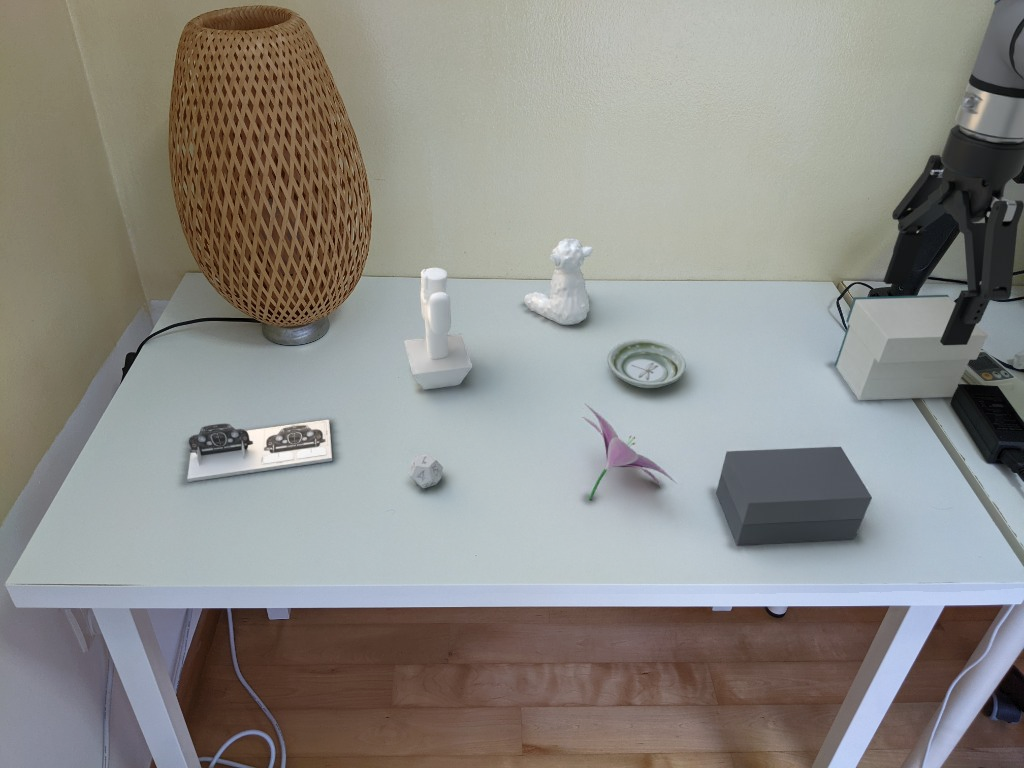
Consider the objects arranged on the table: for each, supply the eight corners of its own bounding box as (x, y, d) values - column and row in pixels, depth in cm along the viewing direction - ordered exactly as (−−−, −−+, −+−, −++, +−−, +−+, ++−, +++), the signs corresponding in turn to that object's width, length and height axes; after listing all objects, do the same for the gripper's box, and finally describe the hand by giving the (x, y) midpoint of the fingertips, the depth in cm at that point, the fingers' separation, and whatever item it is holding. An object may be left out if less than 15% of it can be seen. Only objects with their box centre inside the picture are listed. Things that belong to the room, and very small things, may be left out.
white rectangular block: (923, 362, 101) (940, 321, 97) (952, 397, 95) (972, 354, 92) (834, 365, 100) (848, 323, 96) (858, 400, 95) (874, 358, 91)
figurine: (460, 352, 101) (457, 249, 92) (474, 395, 94) (473, 289, 85) (404, 359, 100) (396, 255, 91) (415, 404, 93) (407, 296, 83)
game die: (446, 471, 84) (445, 451, 82) (437, 495, 81) (436, 475, 79) (415, 466, 84) (413, 446, 82) (405, 490, 81) (403, 470, 79)
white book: (937, 318, 98) (947, 294, 96) (976, 359, 91) (988, 335, 89) (845, 321, 97) (853, 297, 95) (878, 363, 90) (887, 338, 88)
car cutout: (188, 482, 82) (177, 450, 79) (193, 440, 87) (183, 410, 84) (332, 460, 85) (327, 429, 82) (329, 422, 90) (324, 391, 87)
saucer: (616, 347, 103) (618, 331, 101) (689, 362, 100) (692, 347, 99) (597, 388, 96) (598, 373, 94) (674, 406, 93) (677, 391, 92)
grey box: (825, 487, 83) (841, 446, 79) (854, 539, 77) (872, 497, 73) (715, 492, 82) (726, 451, 78) (736, 545, 76) (749, 503, 72)
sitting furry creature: (582, 292, 114) (588, 217, 106) (609, 323, 107) (617, 245, 100) (522, 304, 111) (524, 228, 104) (546, 336, 105) (550, 257, 97)
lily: (671, 539, 78) (709, 455, 76) (567, 515, 74) (604, 425, 72) (627, 486, 89) (659, 411, 87) (534, 463, 85) (566, 384, 83)
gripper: (898, 94, 88) (846, 261, 101) (1033, 179, 68) (947, 374, 81) (961, 93, 88) (902, 260, 101) (1114, 178, 69) (1016, 372, 81)
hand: (922, 311), depth 91 cm, fingers open, 13 cm apart
